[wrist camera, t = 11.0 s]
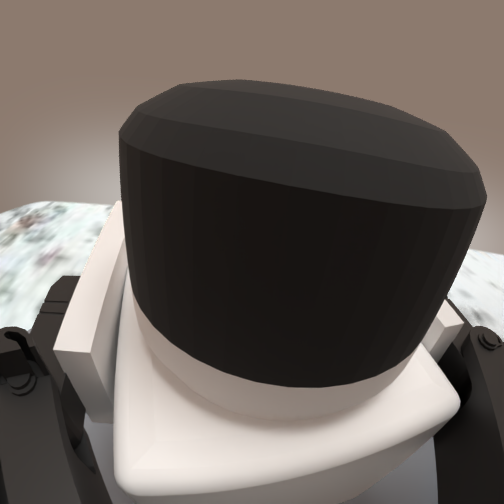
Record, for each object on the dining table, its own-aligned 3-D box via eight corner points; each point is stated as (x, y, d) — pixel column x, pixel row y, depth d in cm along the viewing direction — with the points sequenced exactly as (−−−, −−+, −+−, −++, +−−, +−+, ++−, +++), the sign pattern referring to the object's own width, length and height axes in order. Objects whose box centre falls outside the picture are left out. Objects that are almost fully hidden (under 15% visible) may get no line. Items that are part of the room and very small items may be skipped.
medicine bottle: (358, 497, 9) (590, 197, 3) (167, 535, 7) (-74, 126, 1) (302, 367, 15) (372, 100, 8) (151, 382, 13) (123, 77, 7)
